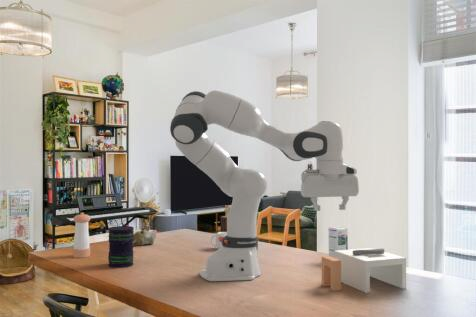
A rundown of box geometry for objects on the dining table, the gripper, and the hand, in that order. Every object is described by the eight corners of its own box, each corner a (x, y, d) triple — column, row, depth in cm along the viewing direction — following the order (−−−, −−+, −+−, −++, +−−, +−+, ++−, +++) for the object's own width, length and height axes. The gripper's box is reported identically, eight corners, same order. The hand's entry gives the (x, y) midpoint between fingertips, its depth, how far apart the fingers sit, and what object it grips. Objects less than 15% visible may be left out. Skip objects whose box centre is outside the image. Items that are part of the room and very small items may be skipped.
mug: (236, 248, 205) (236, 232, 205) (227, 251, 198) (227, 234, 198) (215, 246, 211) (215, 230, 211) (206, 249, 204) (206, 232, 204)
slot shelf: (365, 292, 133) (365, 256, 133) (334, 278, 150) (334, 246, 150) (406, 288, 139) (406, 252, 139) (371, 275, 155) (371, 243, 156)
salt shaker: (78, 258, 180) (79, 214, 181) (69, 256, 185) (69, 212, 185) (93, 255, 186) (94, 212, 186) (84, 253, 190) (84, 211, 191)
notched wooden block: (333, 290, 135) (333, 261, 135) (321, 284, 142) (321, 256, 142) (341, 289, 136) (341, 260, 136) (329, 284, 143) (329, 256, 143)
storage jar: (103, 265, 169) (103, 227, 169) (124, 261, 176) (125, 225, 176) (116, 269, 162) (117, 230, 162) (138, 265, 169) (138, 227, 169)
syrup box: (337, 263, 173) (337, 228, 174) (328, 261, 179) (328, 226, 179) (348, 262, 176) (348, 227, 176) (338, 259, 181) (338, 226, 182)
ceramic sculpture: (158, 228, 212) (128, 231, 205) (159, 245, 212) (129, 249, 205) (153, 225, 221) (124, 229, 215) (154, 242, 221) (125, 246, 215)
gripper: (305, 169, 136) (305, 212, 136) (360, 169, 142) (361, 210, 142) (297, 169, 142) (297, 210, 142) (351, 169, 148) (351, 208, 148)
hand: (329, 210), depth 142 cm, fingers open, 8 cm apart
